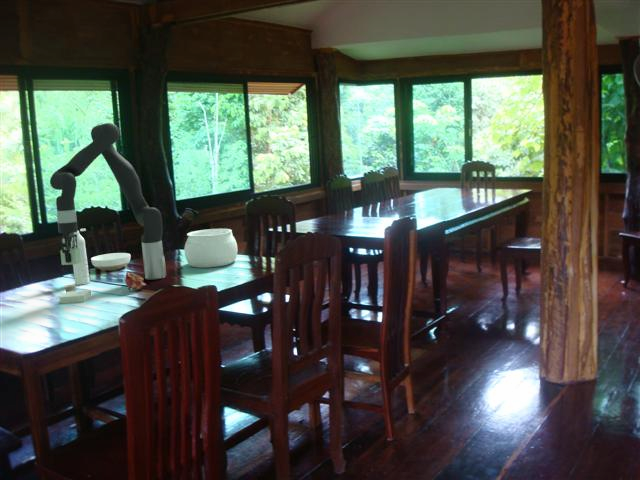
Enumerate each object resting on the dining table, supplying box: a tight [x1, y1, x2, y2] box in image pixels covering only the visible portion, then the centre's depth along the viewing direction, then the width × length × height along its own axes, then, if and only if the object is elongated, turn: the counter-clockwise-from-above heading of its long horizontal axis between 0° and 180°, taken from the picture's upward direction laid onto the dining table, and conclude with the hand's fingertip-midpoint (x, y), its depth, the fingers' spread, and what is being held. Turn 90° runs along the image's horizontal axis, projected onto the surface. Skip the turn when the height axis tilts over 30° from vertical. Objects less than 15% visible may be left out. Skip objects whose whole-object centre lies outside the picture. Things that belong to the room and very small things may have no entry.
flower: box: [124, 271, 147, 292], centre depth 297 cm, size 10×9×8 cm
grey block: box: [64, 283, 77, 293], centre depth 296 cm, size 4×4×4 cm
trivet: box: [59, 289, 93, 304], centre depth 287 cm, size 10×10×2 cm
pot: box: [184, 228, 239, 269], centre depth 345 cm, size 29×26×16 cm
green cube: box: [59, 248, 81, 266], centre depth 284 cm, size 6×6×6 cm
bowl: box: [90, 252, 132, 271], centre depth 350 cm, size 20×20×6 cm
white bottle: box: [72, 228, 91, 286], centre depth 317 cm, size 9×6×25 cm
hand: (71, 260), depth 284 cm, fingers closed on green cube, 6 cm apart
